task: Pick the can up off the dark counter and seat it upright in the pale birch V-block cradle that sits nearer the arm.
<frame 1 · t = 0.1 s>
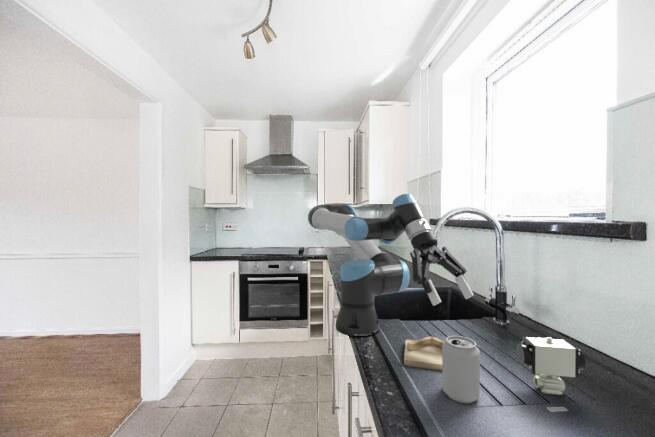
hand: (454, 300, 82), 15 cm above the worktop, tool tilted 35°, fingers open, 13 cm apart
v block: (433, 361, 78), on the worktop
pneumatic valve: (547, 390, 66), on the worktop
can: (460, 395, 64), on the worktop
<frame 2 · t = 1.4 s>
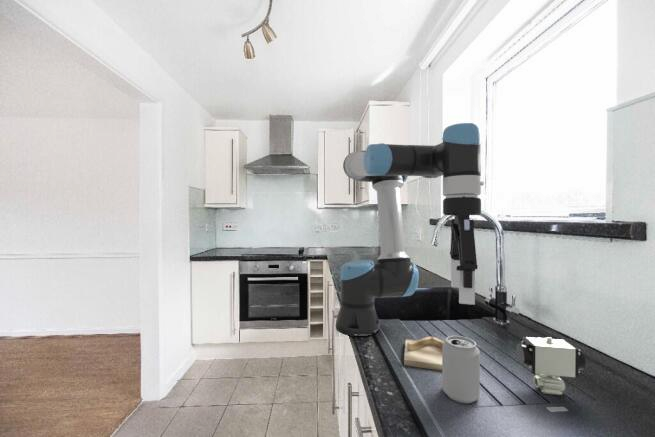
hand: (461, 294, 63), 22 cm above the worktop, tool pointing down, fingers open, 13 cm apart
nothing on the worktop moved.
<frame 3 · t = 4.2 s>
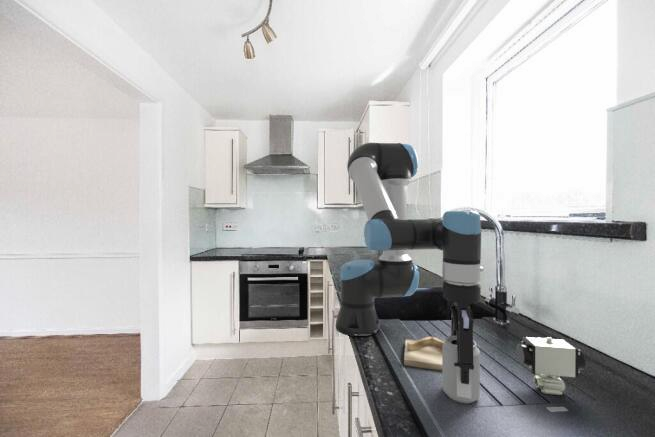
hand: (460, 385, 64), 2 cm above the worktop, tool pointing down, fingers closed on can, 7 cm apart
can: (460, 395, 64), on the worktop, touching gripper
everything else where it was.
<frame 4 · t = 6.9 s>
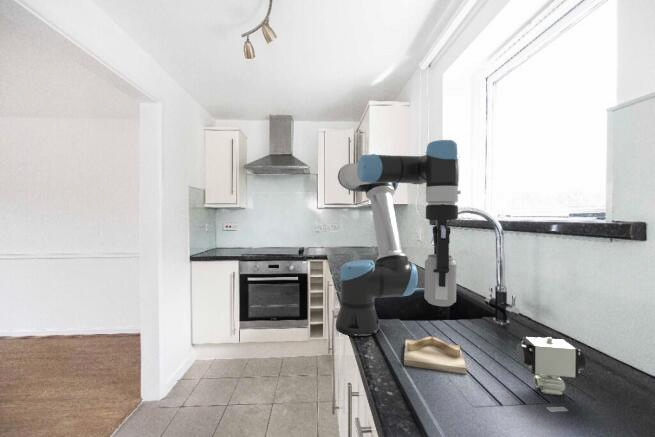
hand: (440, 294, 74), 19 cm above the worktop, tool pointing down, fingers closed on can, 7 cm apart
can: (439, 303, 74), point 17 cm above the worktop, touching gripper
everything else where it was.
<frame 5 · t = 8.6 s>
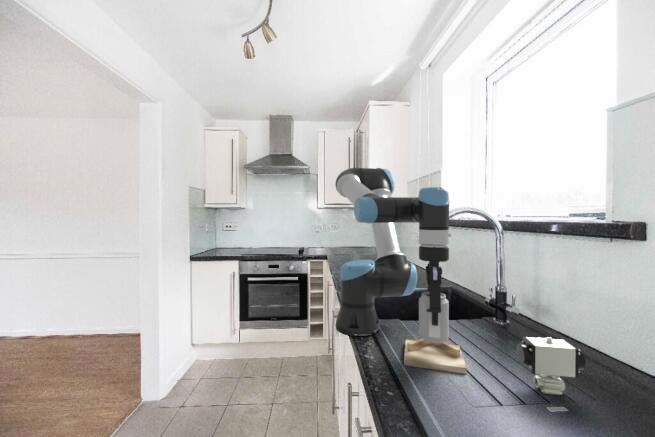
hand: (433, 330, 78), 8 cm above the worktop, tool pointing down, fingers closed on can, 7 cm apart
can: (433, 339, 78), point 6 cm above the worktop, touching gripper
everything else where it was.
when the fingers open (5 cm above the worktop, at t = 10.0 s): can drops 1 cm, resting on v block.
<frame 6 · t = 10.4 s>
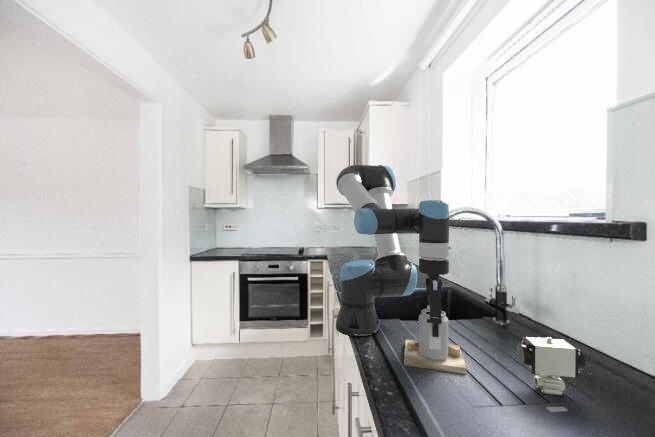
hand: (433, 337, 78), 7 cm above the worktop, tool pointing down, fingers open, 12 cm apart
can: (433, 356, 78), point 1 cm above the worktop, touching v block
everything else where it was.
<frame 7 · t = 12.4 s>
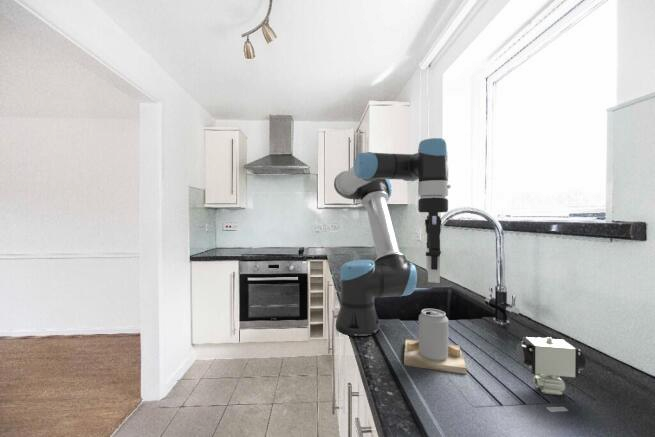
hand: (432, 276, 79), 23 cm above the worktop, tool pointing down, fingers open, 13 cm apart
nothing on the worktop moved.
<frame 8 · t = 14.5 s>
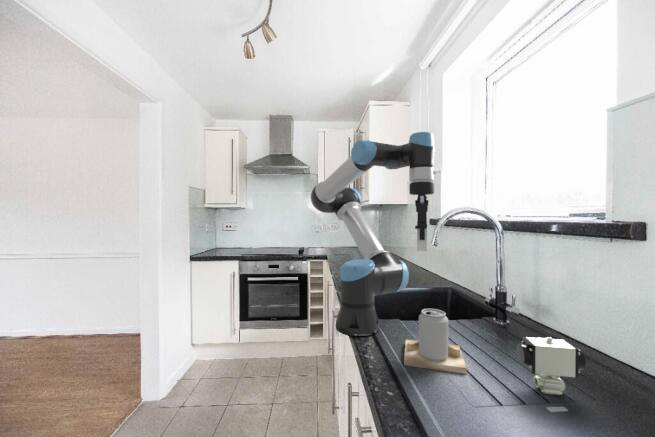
hand: (421, 248, 93), 29 cm above the worktop, tool pointing down, fingers open, 13 cm apart
nothing on the worktop moved.
at the end: can 0.4 cm off-centre on the v block, point 1.3 cm above the v block's base; can tilted 0°; the gripper is holding nothing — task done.
